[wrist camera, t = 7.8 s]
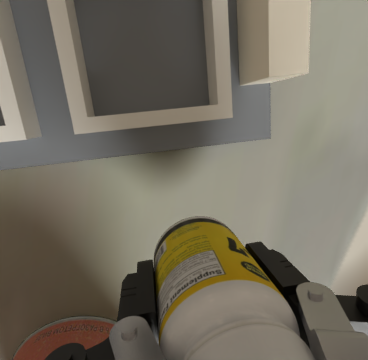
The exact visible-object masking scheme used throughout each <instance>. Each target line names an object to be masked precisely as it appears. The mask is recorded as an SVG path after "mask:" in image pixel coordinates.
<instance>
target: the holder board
mask: <svg viewBox="0 0 368 360" xmlns="http://www.w3.org/2000/svg"><path fill="white" fill-rule="evenodd" d="M310 10H311V0H0V170H6V169H14V168H23V167H32V166H40V165H49V164H57V163H66V162H74V161H83V160H91V159H100V158H108V157H117V156H125V155H134V154H143V153H151V152H160V151H168V150H177V149H185V148H194V147H202V146H211V145H219V144H228V143H236V142H245V141H253V140H262V139H271V122H270V83H272V82H276V81H280V80H284V79H288V78H292V77H296V76H300V75H304V74H308V73H309V44H310Z"/></svg>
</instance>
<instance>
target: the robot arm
mask: <svg viewBox="0 0 368 360" xmlns="http://www.w3.org/2000/svg"><path fill="white" fill-rule="evenodd" d="M245 248H246V250H247V251H248V252H249V254H250V255H251V256H252V257H253V259H254V260H255V261H256V263H257V264H258V265H259V267H260V268H261V269H262V270H263V272H264V273H265V274H266V275H267V277H268V278H269V279H270V280H271V282H272V283H273V284H274V285H275V287H276V288H277V289H278V290H279V292H280V293H281V294H282V295H283V297H284V298H285V300H286V301H287V303H288V304H289V306H290V307H291V309H292V311H293V313H294V315H295V317H296V320H297V323H298V327H299V332H300V338H301V339H302V340H303V341H304V342H305V343H306V344H307V346H308V347H309V349H310V350H311V352H312V354H313V356H314V358H315V359H316V360H368V285H362V286H360V287H358V288H357V292H356V296H343V295H335V294H334V293H333V291H332V290H331V289H329V288H328V287H326V286H324V285H322V284H319V283H314V282H310V281H309V280H308V279H307V278H306V277H305V276H304V275H303V274H302V273H301V272H300V271H299V270H298V269H297V268H295V267H294V266H293V265H292V264H291V263H290V262H289V261H288V260H287V259H286V258H285V257H284V256H283V255H282V254H281V253H279V252H277V251H275V250H273V249H272V250H268V249H267V247H266V246H265V245H264V244H263V243H262V242H255V243H249V244H246V246H245ZM45 360H166V358H165V356H164V354H163V352H162V350H161V349H160V347H159V337H158V321H157V307H156V290H155V275H154V267H153V260H146V261H140V262H138V263H137V273H133V274H128V275H127V276H126V277H125V279H124V280H123V282H122V289H121V298H120V304H119V311H118V319H117V323H116V324H115V325H114V326H113V327H112V329H111V331H110V334H109V337H108V338H107V339H105V340H104V341H103V342H101V343H99V344H97V345H95V346H93V347H91V348H89V349H87V350H85V348H84V346H83V345H81V344H79V343H68V344H65V345H62V346H60V347H58V348H57V349H55V350H54V351H52V352H51V353H50V354H49V355H48V356H47V357H46V358H45Z"/></svg>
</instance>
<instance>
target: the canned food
mask: <svg viewBox="0 0 368 360" xmlns="http://www.w3.org/2000/svg"><path fill="white" fill-rule="evenodd" d="M116 323H117V322H116V321H113V320H110V319H107V318H102V317H95V316H77V317H70V318H65V319H61V320H57V321H55V322H52V323H49V324H47V325H45V326H43V327H41V328H40V329H38V330H36V331H35V332H34V333H32V334H31V335H30V336H29V337H27V338H26V339H25V340H24V341H23V343H22V344H21V345H20V346H19V348H18V349H17V351H16V353H15V354H14V357H13V359H12V360H45V358H46V357H47V356H48V355H49V354H50V353H51V352H52V351H54V350H55V349H57V348H58V347H60V346H62V345H65V344H68V343H79V344H81V345H83V346H84V348H85V350H87V349H89V348H91V347H93V346H95V345H97V344H99V343H101V342H103V341H104V340H105V339H107V338H108V337H109V334H110V331H111V329H112V327H113V326H114V325H115V324H116Z"/></svg>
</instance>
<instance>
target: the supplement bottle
mask: <svg viewBox="0 0 368 360" xmlns="http://www.w3.org/2000/svg"><path fill="white" fill-rule="evenodd" d="M154 275H155V290H156V307H157V321H158V337H159V347H160V349H161V350H162V352H163V354H164V356H165V358H166V360H316V359H315V358H314V356H313V354H312V352H311V350H310V349H309V347H308V346H307V344H306V343H305V342H304V341H303V340H302V339H301V338H300V332H299V327H298V323H297V320H296V317H295V315H294V313H293V311H292V309H291V307H290V306H289V304H288V303H287V301H286V300H285V298H284V297H283V295H282V294H281V293H280V292H279V290H278V289H277V288H276V287H275V285H274V284H273V283H272V282H271V280H270V279H269V278H268V277H267V275H266V274H265V273H264V272H263V270H262V269H261V268H260V267H259V265H258V264H257V263H256V261H255V260H254V259H253V257H252V256H251V255H250V254H249V252H248V251H247V250H246V248H245V247H244V246H243V245H242V243H241V242H240V241H239V240H238V238H237V237H236V236H235V234H234V233H233V232H232V231H231V230H230V229H229V228H228V227H227V226H226V225H225V224H223V223H222V222H220V221H218V220H216V219H214V218H210V217H205V216H195V217H189V218H186V219H183V220H180V221H179V222H177V223H175V224H174V225H172V226H171V227H170V228H169V229H167V230H166V231H165V232H164V234H163V235H162V236H161V238H160V239H159V241H158V243H157V245H156V249H155V253H154Z"/></svg>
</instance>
